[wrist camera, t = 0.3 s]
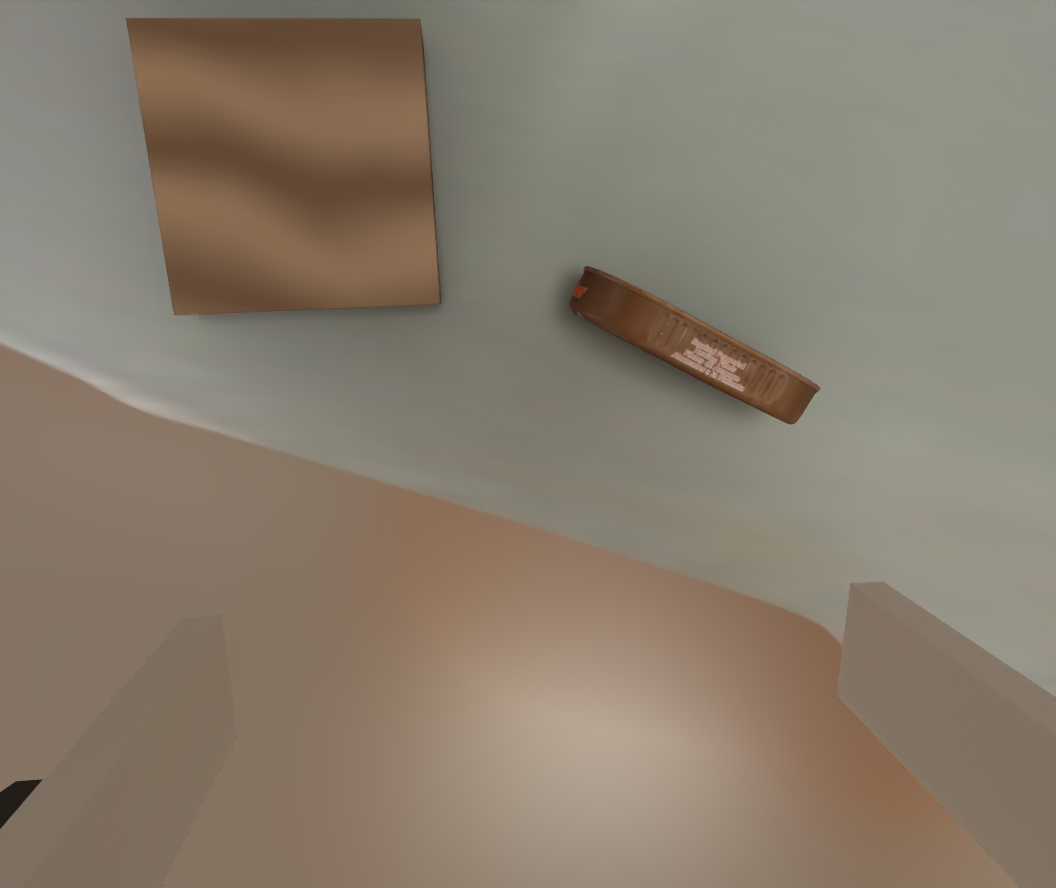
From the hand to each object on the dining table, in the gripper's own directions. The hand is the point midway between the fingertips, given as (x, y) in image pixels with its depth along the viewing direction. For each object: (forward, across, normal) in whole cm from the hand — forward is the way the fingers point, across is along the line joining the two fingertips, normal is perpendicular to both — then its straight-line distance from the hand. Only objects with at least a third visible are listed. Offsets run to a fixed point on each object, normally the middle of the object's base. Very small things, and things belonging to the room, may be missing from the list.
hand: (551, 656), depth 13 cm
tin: (+28, +11, +4) cm, 30 cm away
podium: (+28, -10, +14) cm, 32 cm away
